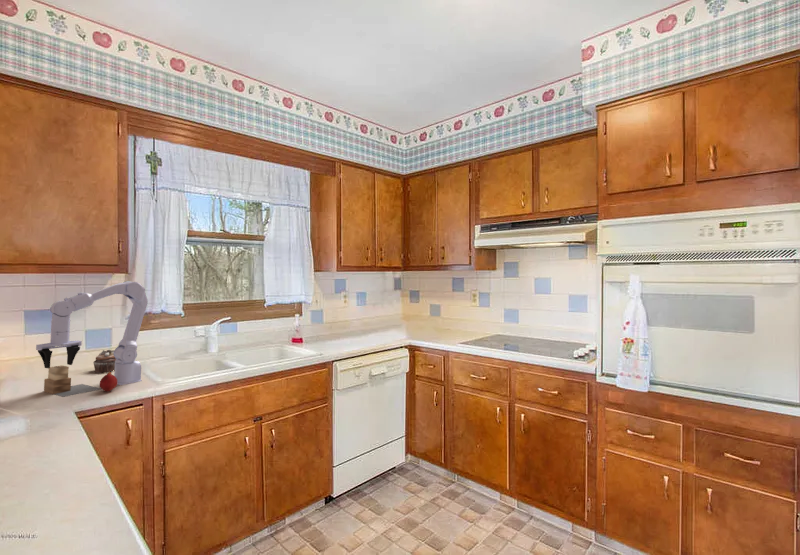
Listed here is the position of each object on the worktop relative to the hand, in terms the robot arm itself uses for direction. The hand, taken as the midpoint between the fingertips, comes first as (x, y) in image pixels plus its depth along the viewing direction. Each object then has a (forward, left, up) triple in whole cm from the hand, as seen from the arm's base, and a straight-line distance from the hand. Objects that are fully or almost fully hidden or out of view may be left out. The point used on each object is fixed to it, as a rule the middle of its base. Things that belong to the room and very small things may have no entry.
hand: (58, 366), depth 162 cm
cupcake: (-31, -22, -10) cm, 39 cm away
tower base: (0, 0, -10) cm, 10 cm away
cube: (0, 0, -5) cm, 5 cm away
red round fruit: (-10, +15, -10) cm, 21 cm away
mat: (-4, +3, -10) cm, 11 cm away
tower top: (0, 0, -7) cm, 7 cm away
